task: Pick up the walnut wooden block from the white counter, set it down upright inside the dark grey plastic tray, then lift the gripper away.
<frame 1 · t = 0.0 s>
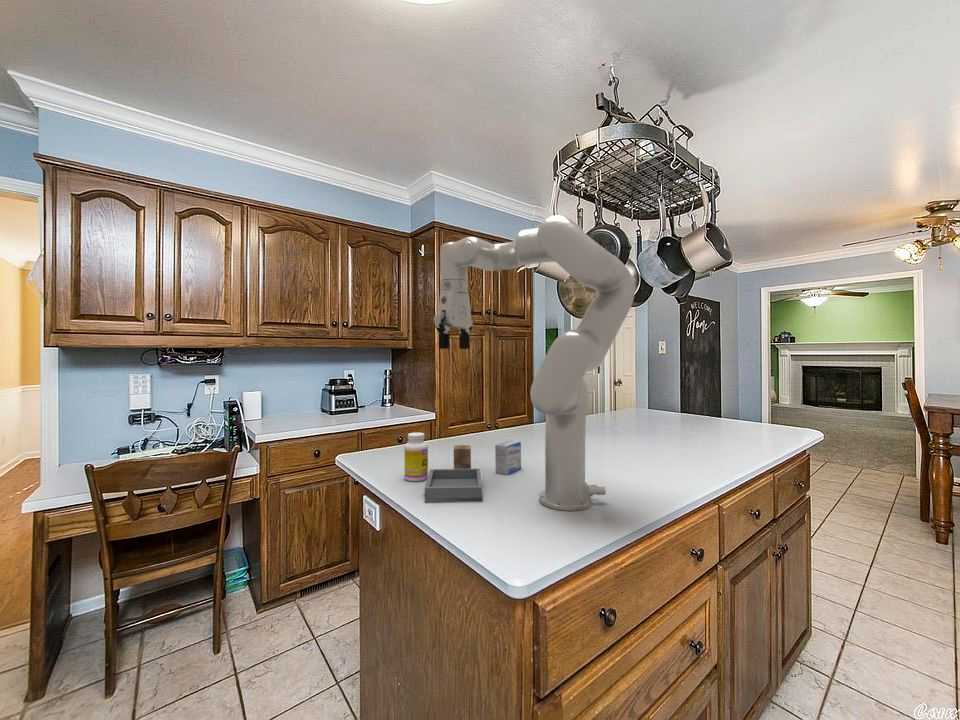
hand: (454, 348, 117), 37 cm above the countertop, tool pointing down, fingers open, 9 cm apart
tray: (454, 490, 108), on the countertop
supplement bottle: (416, 479, 119), on the countertop
medicine box: (508, 471, 126), on the countertop
walnut block: (462, 473, 123), on the countertop
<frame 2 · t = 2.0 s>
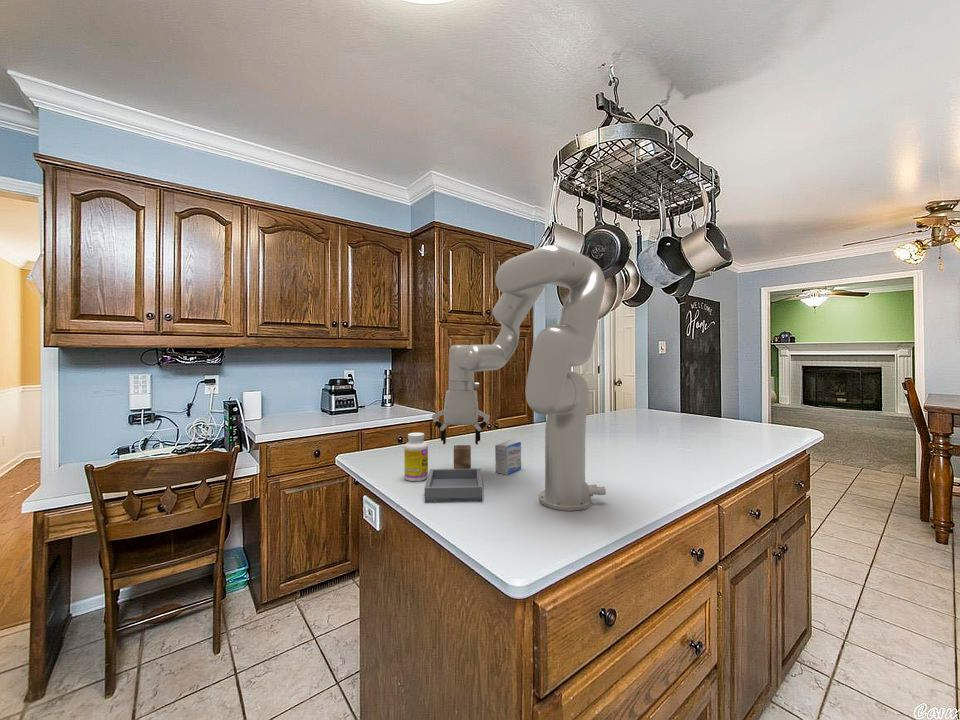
hand: (460, 443, 123), 9 cm above the countertop, tool pointing down, fingers open, 9 cm apart
nothing on the countertop moved.
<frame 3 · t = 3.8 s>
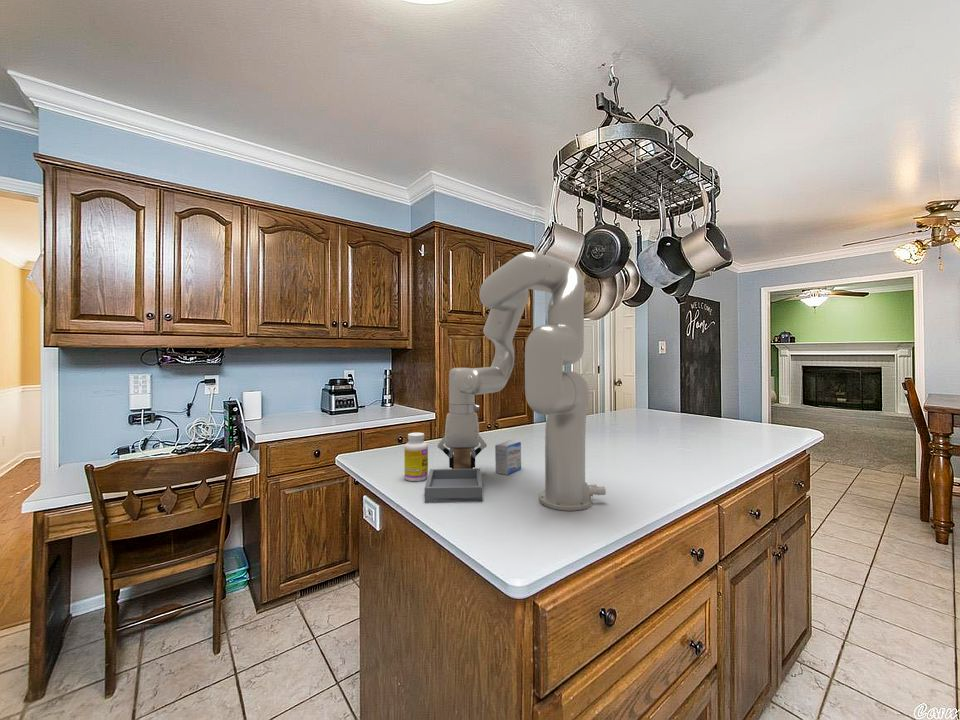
hand: (462, 469, 123), 1 cm above the countertop, tool pointing down, fingers closed on walnut block, 5 cm apart
walnut block: (462, 473, 123), on the countertop, touching gripper
everything else where it was.
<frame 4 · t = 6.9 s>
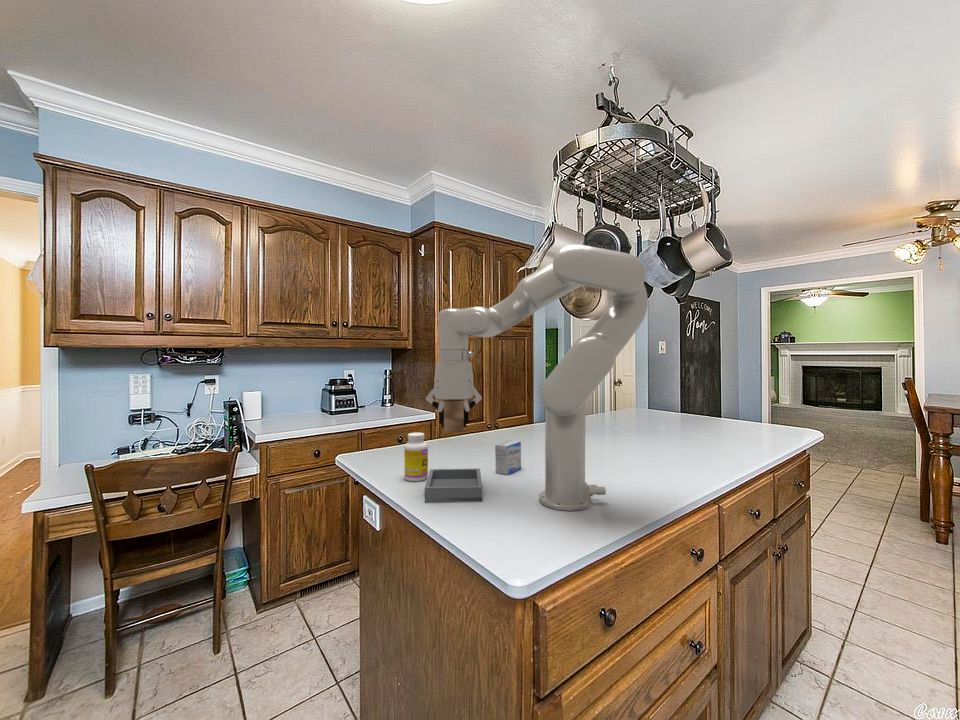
hand: (454, 425, 108), 17 cm above the countertop, tool pointing down, fingers closed on walnut block, 5 cm apart
walnut block: (454, 430, 108), point 16 cm above the countertop, touching gripper
everything else where it was.
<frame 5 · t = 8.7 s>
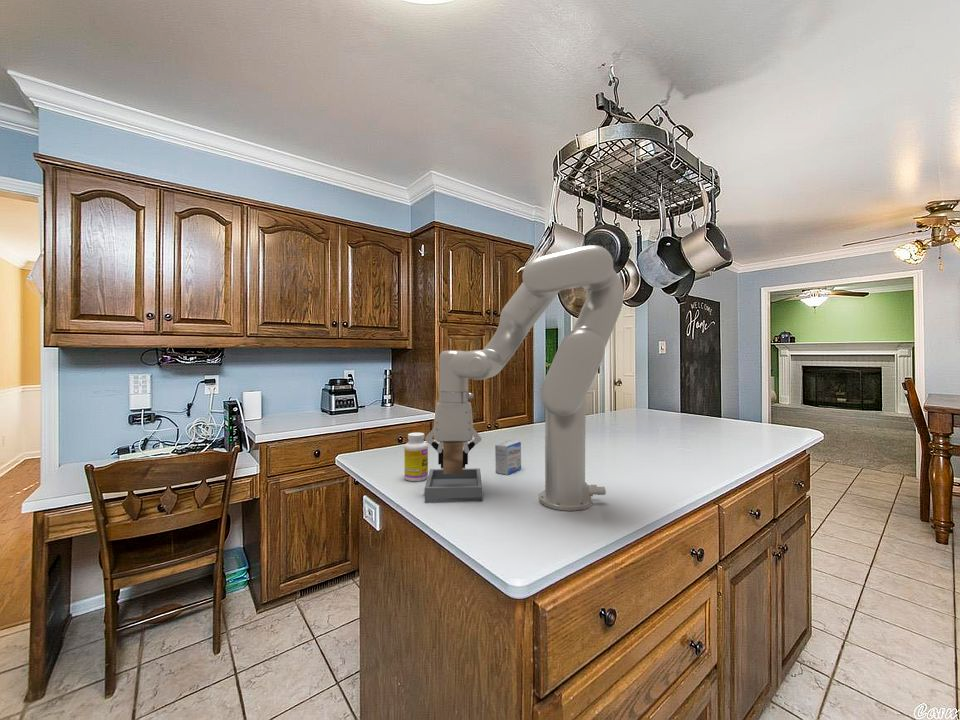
hand: (453, 466, 108), 6 cm above the countertop, tool pointing down, fingers closed on walnut block, 5 cm apart
walnut block: (453, 471, 108), point 5 cm above the countertop, touching gripper
everything else where it was.
when the fingers open (4 cm above the countertop, at t = 10.1 s): walnut block drops 1 cm, resting on tray.
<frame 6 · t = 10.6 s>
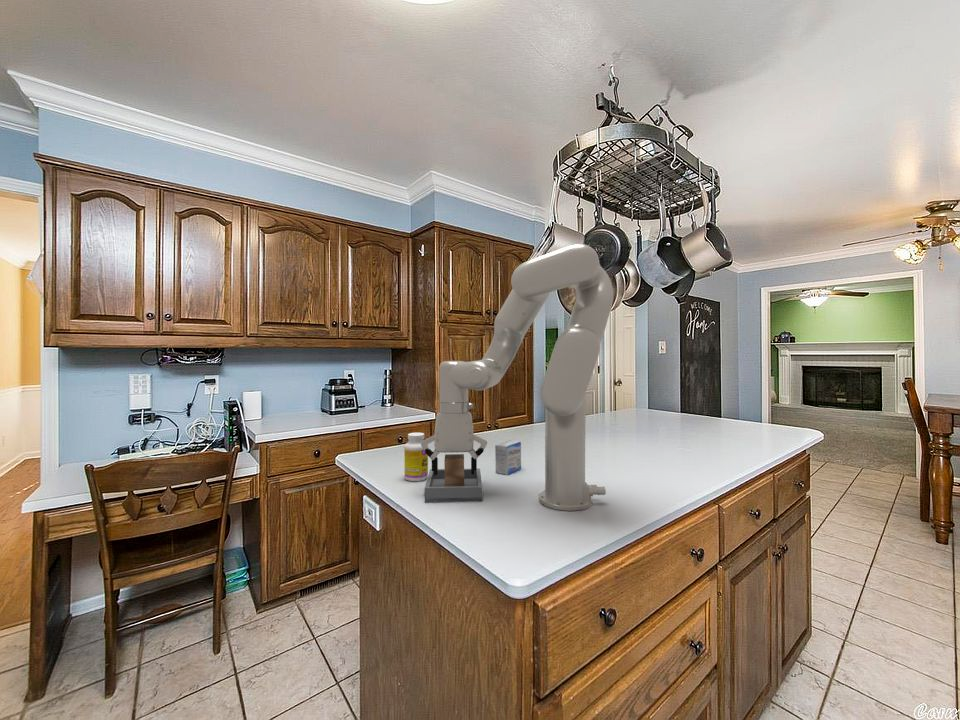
hand: (454, 473, 108), 5 cm above the countertop, tool pointing down, fingers open, 9 cm apart
walnut block: (454, 487, 108), point 1 cm above the countertop, touching tray
everything else where it was.
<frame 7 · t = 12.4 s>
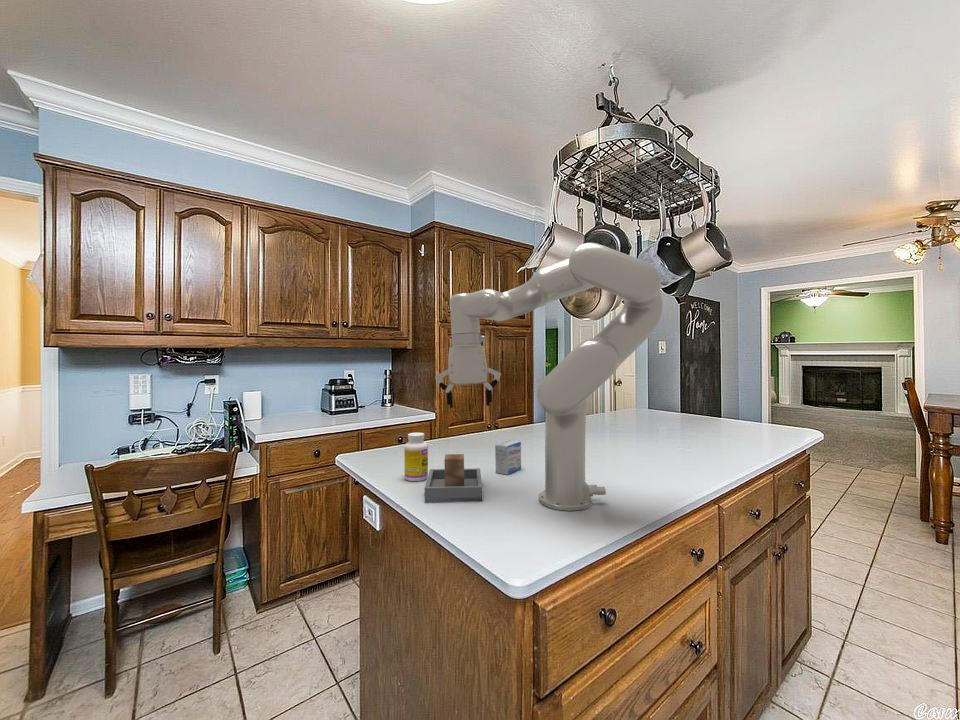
hand: (469, 406, 108), 22 cm above the countertop, tool pointing down, fingers open, 9 cm apart
nothing on the countertop moved.
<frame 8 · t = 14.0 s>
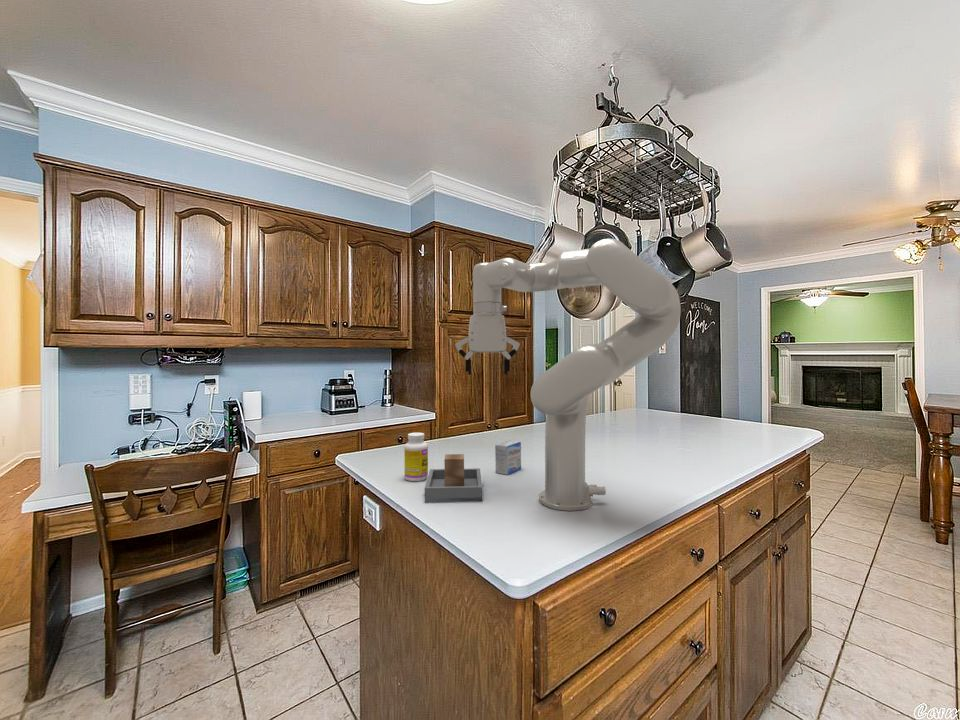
hand: (487, 374, 111), 30 cm above the countertop, tool pointing down, fingers open, 9 cm apart
nothing on the countertop moved.
at the end: walnut block inside the target area on the tray (0.0 cm from its centre), point 1.0 cm above the tray's base; walnut block tilted 0°; the gripper is holding nothing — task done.
